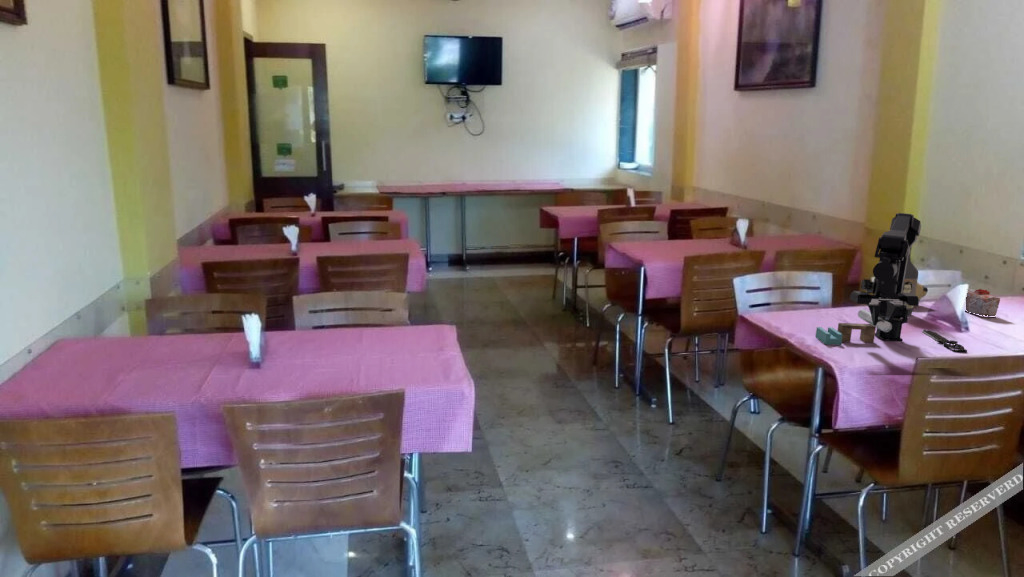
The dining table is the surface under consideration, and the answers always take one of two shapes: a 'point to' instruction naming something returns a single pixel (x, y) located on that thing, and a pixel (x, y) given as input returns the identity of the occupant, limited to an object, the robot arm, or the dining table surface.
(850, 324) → the wooden bridge block
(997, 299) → the food item
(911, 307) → the liquor
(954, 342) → the knife
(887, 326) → the axle
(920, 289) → the tan rounded piece
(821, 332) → the cradle
